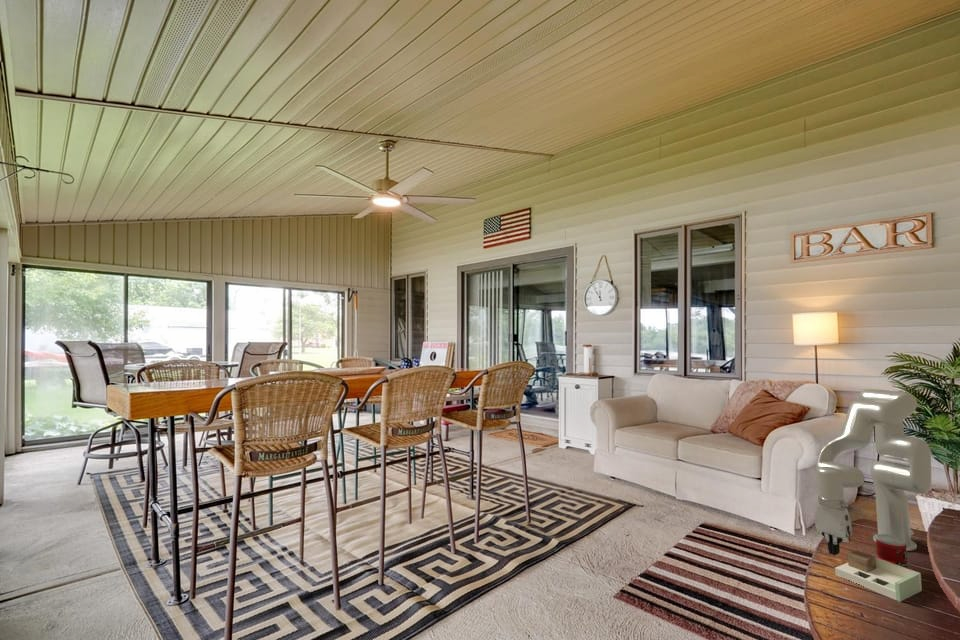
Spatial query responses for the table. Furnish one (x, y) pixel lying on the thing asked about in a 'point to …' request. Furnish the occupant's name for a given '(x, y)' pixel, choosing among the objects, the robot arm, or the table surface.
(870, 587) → the trap box
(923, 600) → the table surface
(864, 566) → the block
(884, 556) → the canned food
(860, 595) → the table surface
